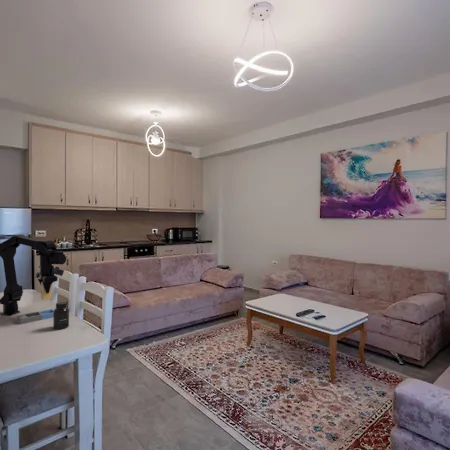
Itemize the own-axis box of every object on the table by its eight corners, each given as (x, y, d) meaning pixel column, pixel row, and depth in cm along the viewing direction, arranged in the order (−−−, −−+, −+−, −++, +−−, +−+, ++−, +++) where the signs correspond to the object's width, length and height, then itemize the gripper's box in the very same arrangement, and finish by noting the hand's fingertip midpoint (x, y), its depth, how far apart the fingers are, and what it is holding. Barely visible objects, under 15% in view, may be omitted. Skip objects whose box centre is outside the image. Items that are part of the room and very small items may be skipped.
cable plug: (43, 300, 165) (43, 283, 165) (41, 298, 168) (41, 282, 168) (51, 299, 168) (51, 282, 168) (49, 297, 171) (49, 281, 170)
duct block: (20, 324, 156) (20, 319, 156) (17, 320, 162) (17, 315, 162) (62, 315, 170) (62, 310, 170) (57, 312, 176) (57, 307, 175)
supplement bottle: (62, 330, 148) (62, 305, 148) (50, 329, 150) (49, 304, 149) (72, 325, 155) (72, 301, 155) (60, 324, 156) (60, 300, 156)
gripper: (67, 264, 166) (68, 293, 167) (57, 260, 180) (57, 287, 180) (44, 266, 158) (44, 296, 159) (35, 262, 172) (35, 290, 172)
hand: (46, 292), depth 168 cm, fingers closed on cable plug, 4 cm apart
